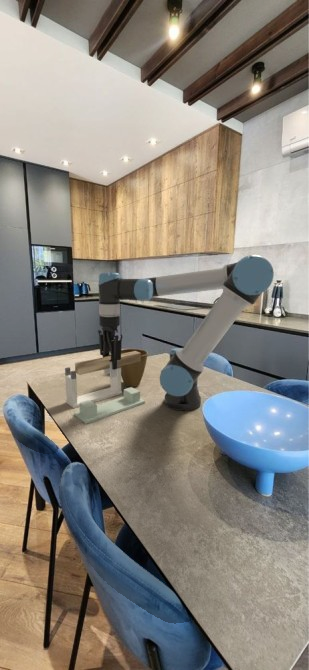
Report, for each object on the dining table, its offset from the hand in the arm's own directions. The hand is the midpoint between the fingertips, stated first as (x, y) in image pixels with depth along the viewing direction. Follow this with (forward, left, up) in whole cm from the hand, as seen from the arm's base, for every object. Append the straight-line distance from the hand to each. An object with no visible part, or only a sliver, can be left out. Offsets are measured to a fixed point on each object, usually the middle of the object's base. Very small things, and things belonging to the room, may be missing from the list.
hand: (110, 375), depth 109 cm
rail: (0, 0, +4) cm, 4 cm away
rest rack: (0, 0, -14) cm, 14 cm away
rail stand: (+13, 0, -14) cm, 19 cm away
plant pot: (+16, -22, -14) cm, 31 cm away
